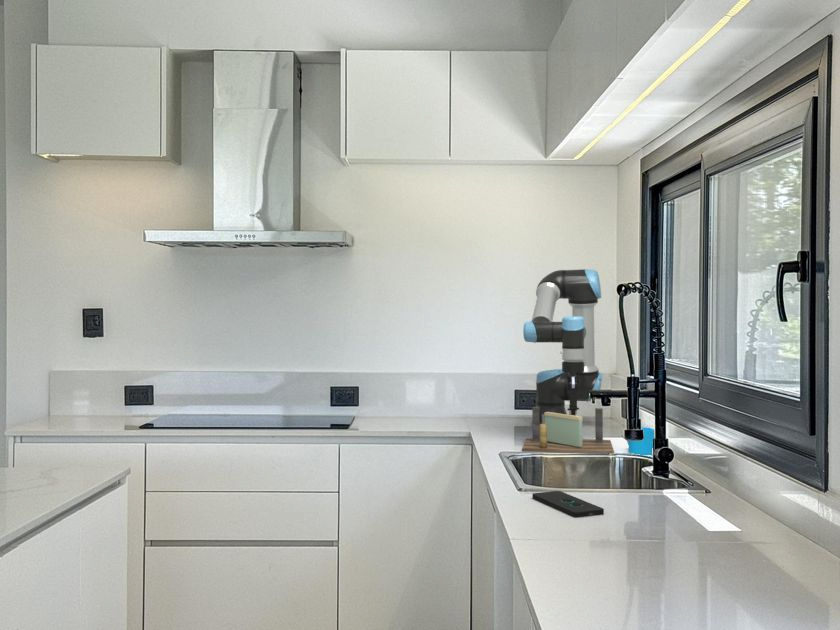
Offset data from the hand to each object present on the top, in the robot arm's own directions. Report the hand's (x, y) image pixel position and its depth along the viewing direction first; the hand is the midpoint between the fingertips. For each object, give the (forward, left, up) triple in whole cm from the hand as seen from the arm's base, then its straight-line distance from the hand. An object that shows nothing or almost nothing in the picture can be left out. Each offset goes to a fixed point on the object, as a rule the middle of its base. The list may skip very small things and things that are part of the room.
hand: (573, 428), depth 260 cm
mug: (+6, +21, -7) cm, 23 cm away
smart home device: (+82, -2, -7) cm, 82 cm away
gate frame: (-1, -2, -6) cm, 7 cm away
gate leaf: (+1, -4, -5) cm, 6 cm away
